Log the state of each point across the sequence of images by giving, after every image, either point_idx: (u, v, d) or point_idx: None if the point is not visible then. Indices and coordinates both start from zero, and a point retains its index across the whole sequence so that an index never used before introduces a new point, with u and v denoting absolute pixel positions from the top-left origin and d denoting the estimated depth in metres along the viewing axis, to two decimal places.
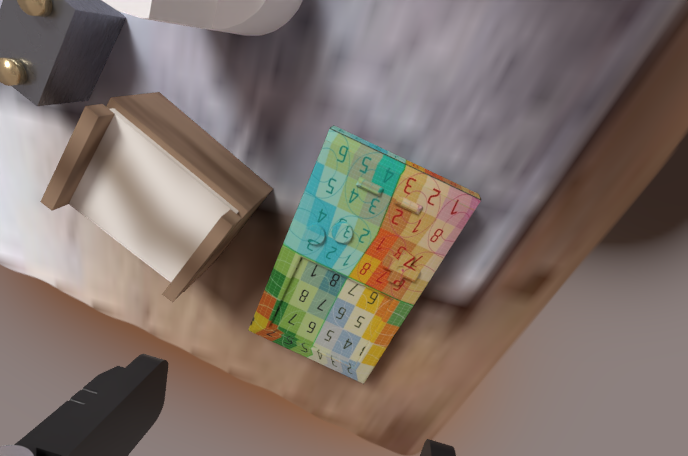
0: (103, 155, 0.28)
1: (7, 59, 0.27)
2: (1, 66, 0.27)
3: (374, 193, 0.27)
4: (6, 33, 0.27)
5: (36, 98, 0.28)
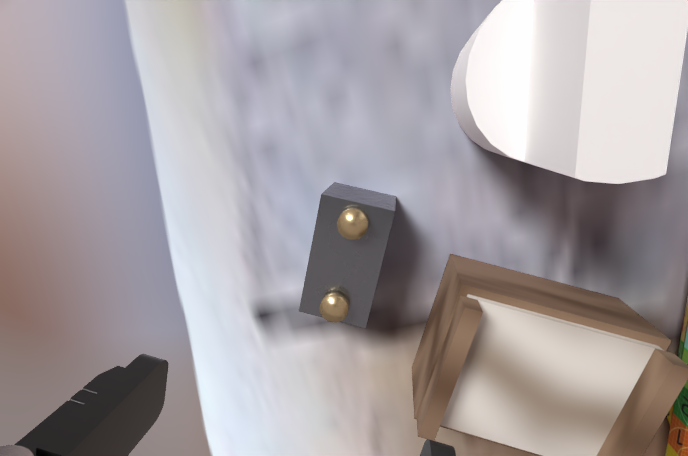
0: (469, 351, 0.23)
1: (333, 295, 0.24)
2: (329, 305, 0.24)
3: None
4: (321, 269, 0.24)
5: (363, 320, 0.25)
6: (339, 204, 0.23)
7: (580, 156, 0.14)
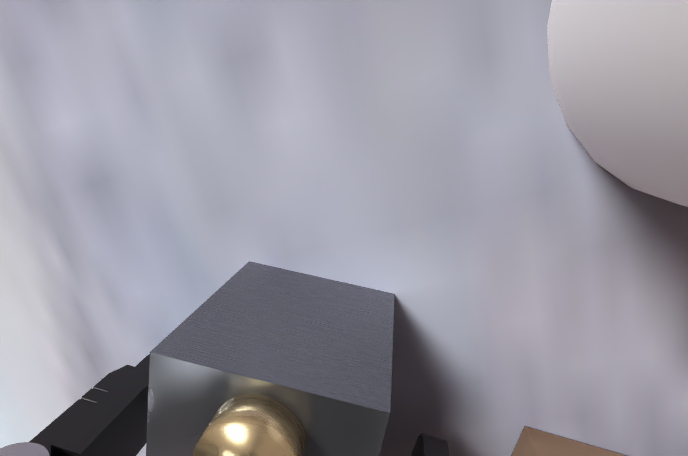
0: None
1: None
2: None
3: None
4: None
5: None
6: (210, 384, 0.07)
7: None
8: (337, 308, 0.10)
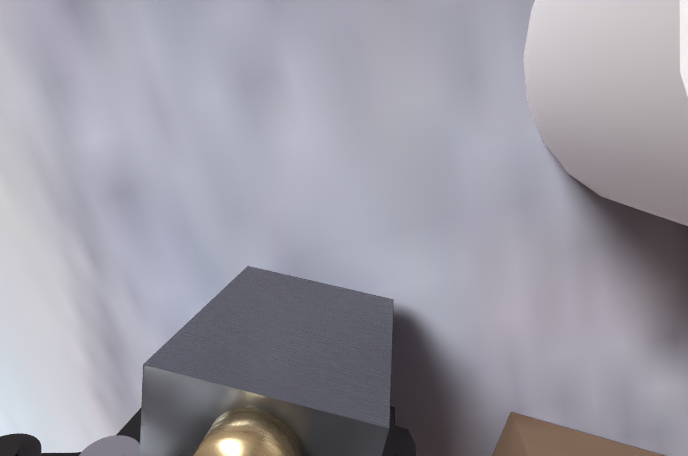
0: None
1: None
2: None
3: None
4: None
5: None
6: (204, 397, 0.07)
7: None
8: (335, 317, 0.10)
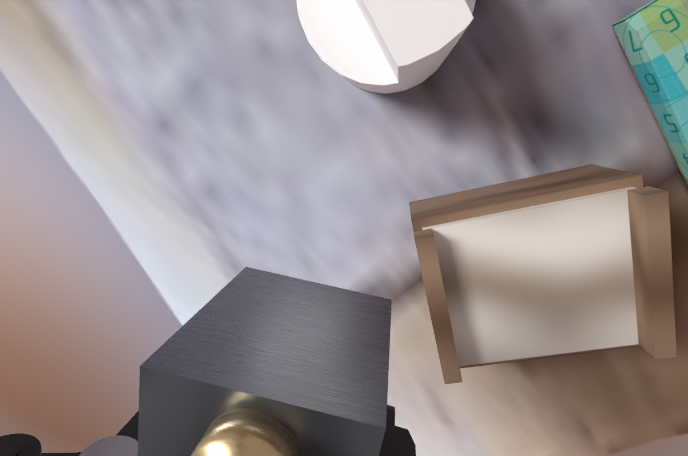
0: (452, 280, 0.22)
1: None
2: None
3: None
4: None
5: None
6: (201, 399, 0.07)
7: (390, 45, 0.14)
8: (333, 317, 0.10)
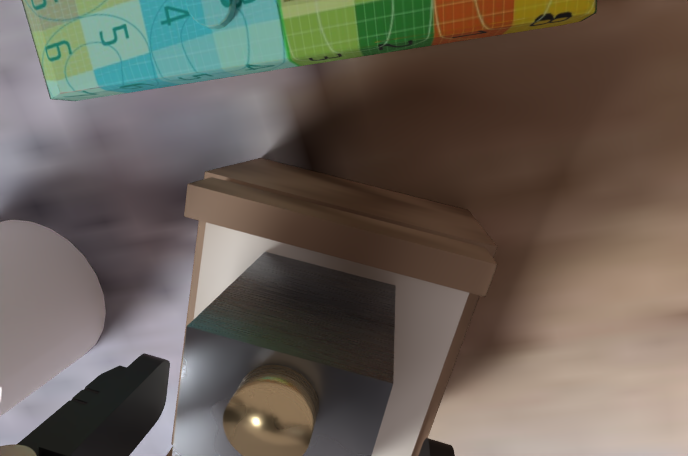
0: None
1: None
2: None
3: None
4: None
5: None
6: (237, 356, 0.08)
7: None
8: (345, 297, 0.11)
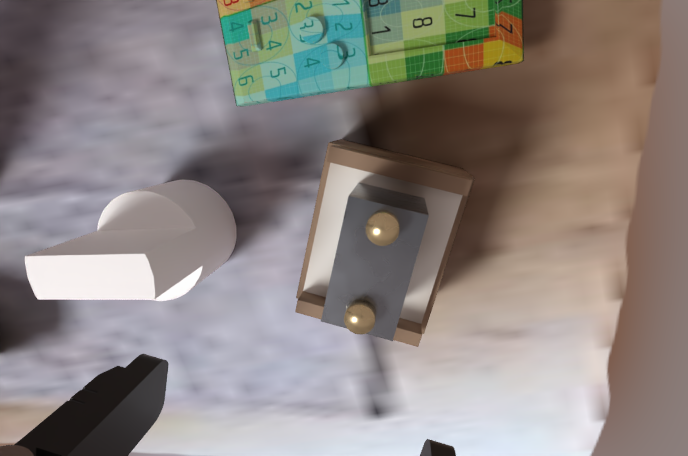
0: None
1: (359, 305, 0.22)
2: (354, 316, 0.22)
3: (256, 26, 0.26)
4: (346, 277, 0.22)
5: (390, 332, 0.23)
6: (368, 207, 0.21)
7: (142, 297, 0.24)
8: (402, 197, 0.24)
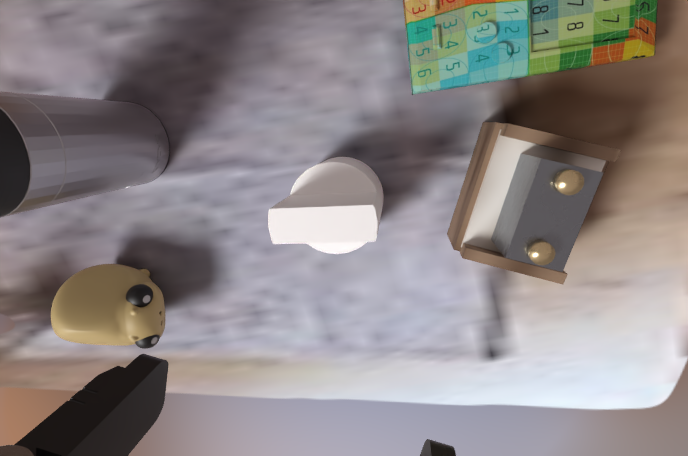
0: None
1: (543, 242, 0.29)
2: (539, 250, 0.29)
3: (439, 29, 0.33)
4: (530, 222, 0.30)
5: (561, 265, 0.30)
6: (556, 167, 0.28)
7: (365, 240, 0.31)
8: (564, 163, 0.31)
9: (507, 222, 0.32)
